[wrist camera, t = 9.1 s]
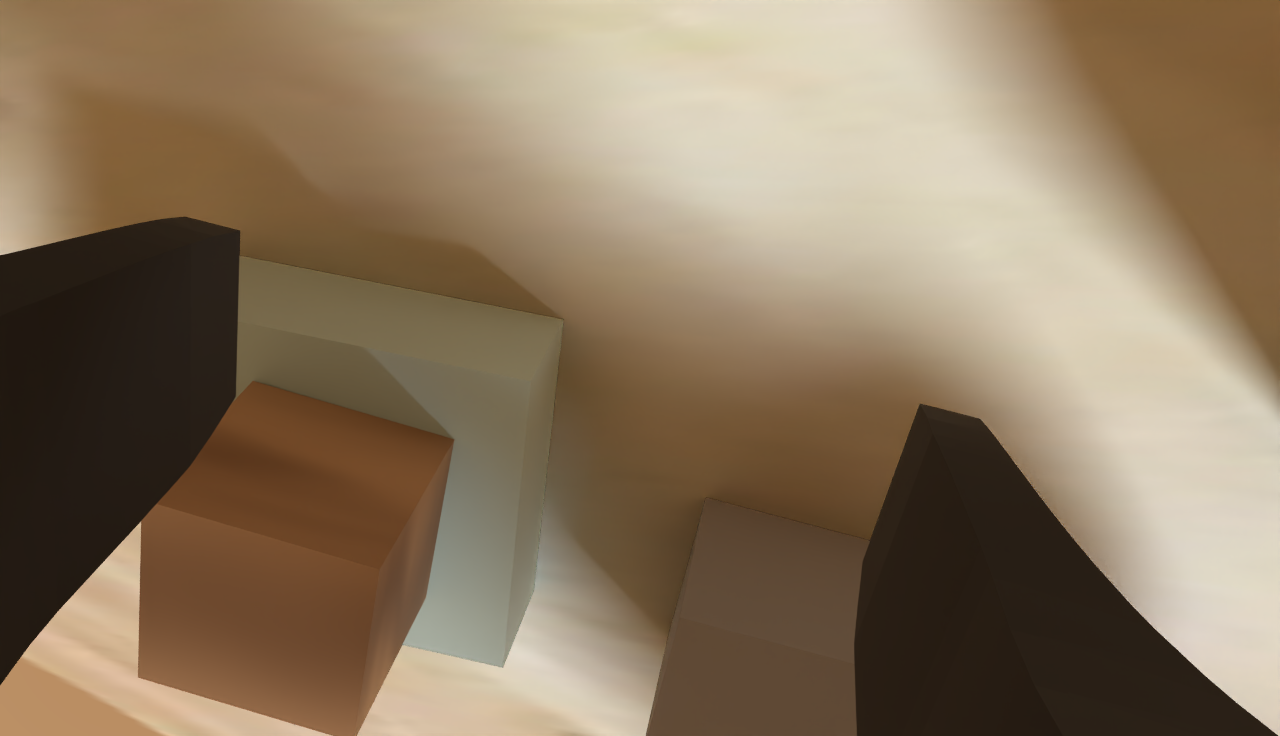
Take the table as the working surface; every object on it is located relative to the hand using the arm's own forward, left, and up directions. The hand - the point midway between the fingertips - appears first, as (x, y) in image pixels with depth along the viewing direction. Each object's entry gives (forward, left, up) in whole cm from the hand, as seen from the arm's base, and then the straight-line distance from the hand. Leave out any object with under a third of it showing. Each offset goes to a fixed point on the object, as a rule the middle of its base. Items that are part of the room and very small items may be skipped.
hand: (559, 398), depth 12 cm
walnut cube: (-8, +5, -8) cm, 12 cm away
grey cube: (-10, -4, -10) cm, 15 cm away
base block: (-8, +5, -11) cm, 15 cm away
